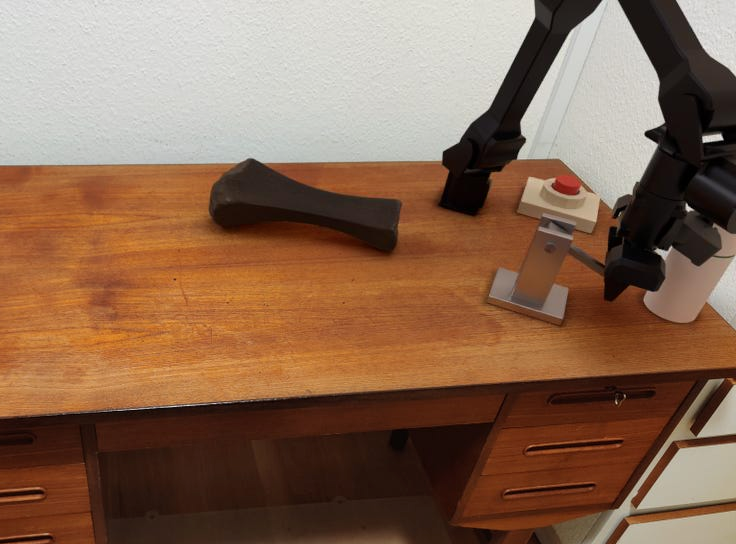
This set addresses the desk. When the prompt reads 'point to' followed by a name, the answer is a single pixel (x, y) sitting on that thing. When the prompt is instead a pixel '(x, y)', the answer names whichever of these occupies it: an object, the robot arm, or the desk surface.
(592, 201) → the button box
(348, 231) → the dark brown bone
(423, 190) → the desk surface
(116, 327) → the desk surface
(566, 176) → the button
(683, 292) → the cylindrical container
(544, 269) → the bracket
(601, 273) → the lever
